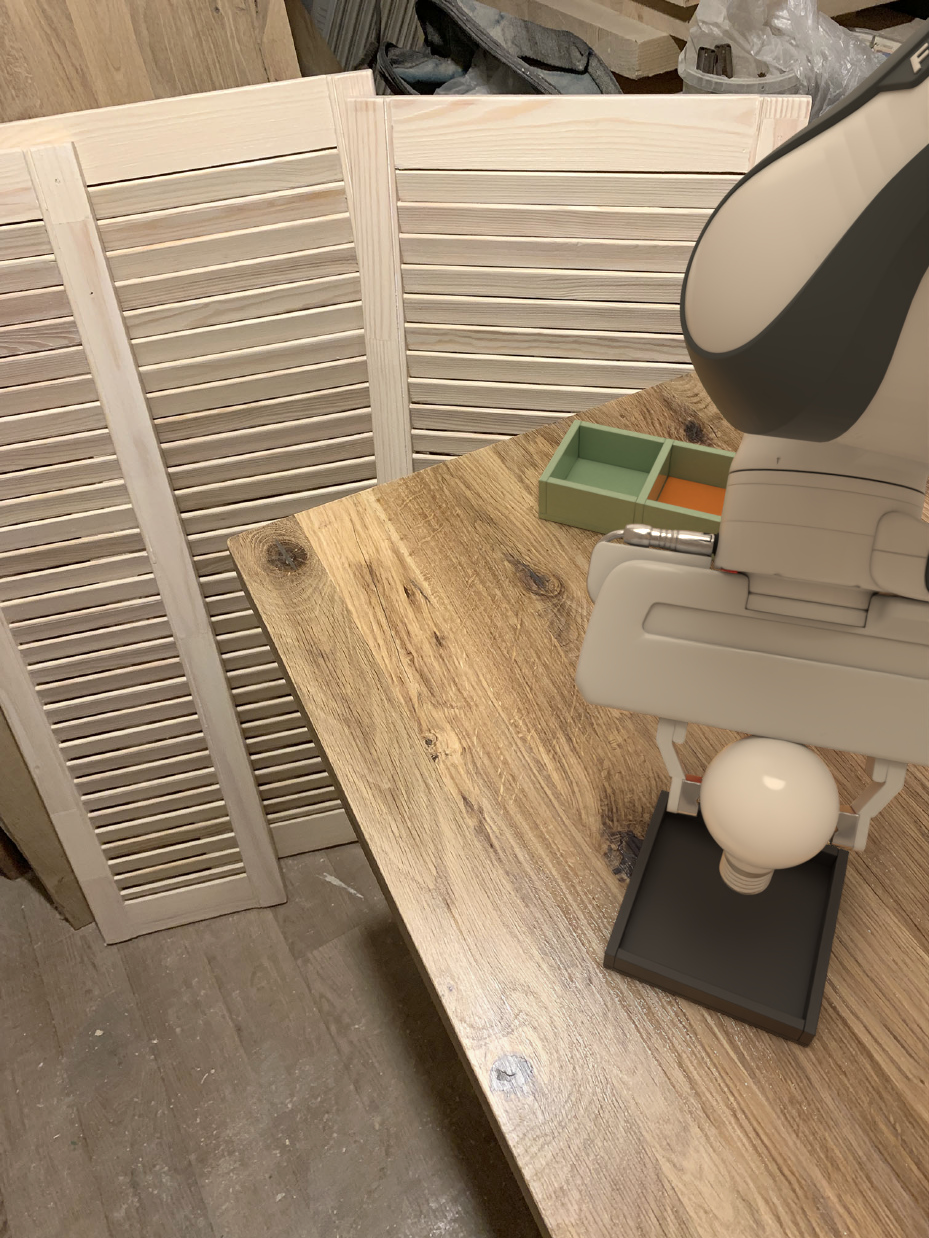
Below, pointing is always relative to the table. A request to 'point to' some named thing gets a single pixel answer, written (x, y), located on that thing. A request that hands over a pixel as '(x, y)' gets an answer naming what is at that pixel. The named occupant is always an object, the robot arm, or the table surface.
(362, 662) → the table surface
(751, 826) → the lightbulb
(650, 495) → the green compartment box
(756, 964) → the tray
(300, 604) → the table surface
